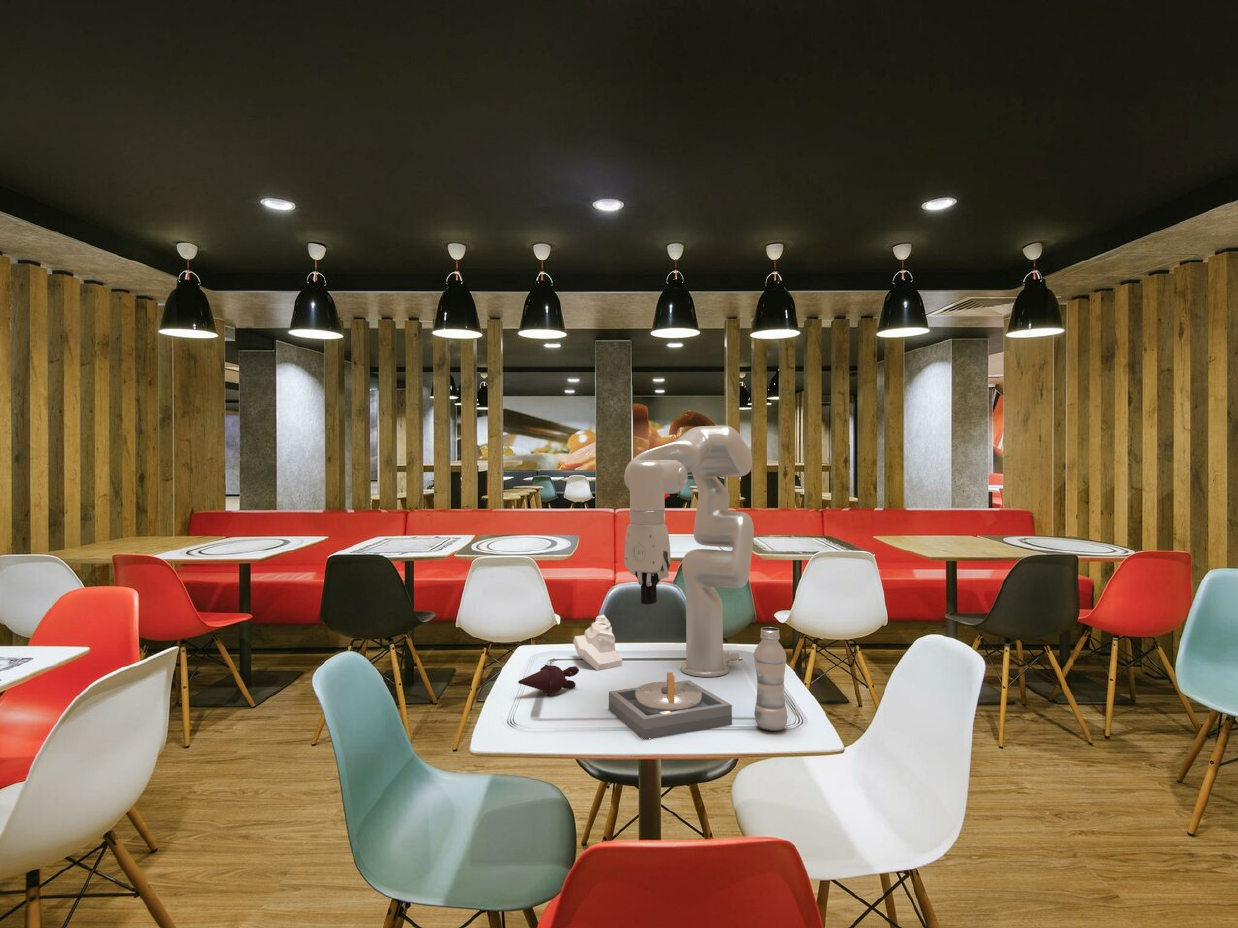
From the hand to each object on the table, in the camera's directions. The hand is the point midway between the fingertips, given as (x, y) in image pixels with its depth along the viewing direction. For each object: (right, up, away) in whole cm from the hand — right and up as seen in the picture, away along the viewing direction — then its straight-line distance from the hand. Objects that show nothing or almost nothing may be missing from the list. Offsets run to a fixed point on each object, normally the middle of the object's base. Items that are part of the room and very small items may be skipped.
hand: (649, 603), depth 144 cm
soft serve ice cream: (-12, -25, +38) cm, 47 cm away
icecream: (-23, -24, +13) cm, 36 cm away
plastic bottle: (+24, -24, -10) cm, 35 cm away
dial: (+4, -22, -3) cm, 22 cm away
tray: (+4, -24, -3) cm, 24 cm away
